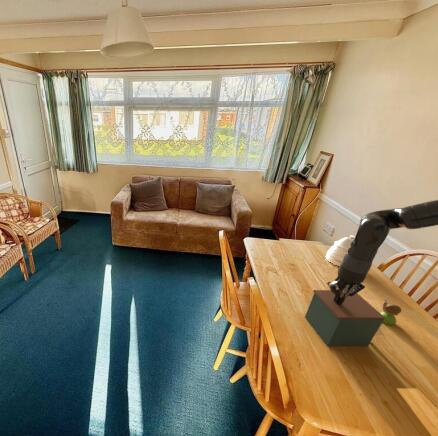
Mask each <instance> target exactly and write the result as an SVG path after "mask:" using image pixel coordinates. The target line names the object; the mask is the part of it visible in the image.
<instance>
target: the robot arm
mask: <svg viewBox="0 0 438 436" xmlns="http://www.w3.org/2000/svg"><path fill="white" fill-rule="evenodd" d="M436 226H438V199H435V200H430V201H424V202H420V203H416V204H412V205H407V206H404V207H398V208H389V209H381V210H376V211H372V212H368V213H366V214H364V215H363V216H362V217H361V218H360V220H359V225H358V228H357V231H356V234H355V235H354V236H355V239H352V242H351V244H350V246H349V249H348V251H347V253H346V254H345V256H344V258H343V260H342V262H341V265H340V267H338V270H337V276H336V278H335V279H334V281H327V283H326V284H327V286H328V288H329V290H331V291H332V292H333V293H334V294H335V297H334V302H335V303H336V304H342V303H343V302H344V300H345V298H347V297H348V296H353V295H355V294H356V293H357V294H358V293H359V292H361V291H363V290H364V289H365V288H366V286H365V285H364V284H363V282H365V280H366V278H367V276H368V274H369V272H370V271H371V268H372V265H373V261H374V260H375V257H376V256H377V254H378V251H379V249H380V247H381V246H382V245H383V243H385V241H386V239H387V238H388V236H389V233H390V232H391V230H394V229H395V230H396V229H402V228H404V229H407V230H418V229H424V228H429V227H436ZM336 288H337V289H336ZM353 290H354V291H353Z"/></svg>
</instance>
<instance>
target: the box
mask: <svg viewBox="0 0 438 436" xmlns="http://www.w3.org/2000/svg"><path fill="white" fill-rule="evenodd" d="M304 318H305V319H306V321H307V322H308V323H309V325H310V326H311V327H312V328H313V330H314V331H315V332H316V334H317V336H319V338H320V339H321V341H323V343H324V344H325V345H326V346H327V347H369V345H371V342H372V340H373V339H374V337H376V334H377V333H378V330H379V329H380V327H381V326H382V324H383V321H384V319H338V318H337V317H336V316H335V315H334V314H333V312H332V311H331V310H330V309H329V308H328V307H327V306H326V305H325V304H324V303H323V302H322V301H321V300H320V299H319V297H318V296H317V295H316V294H315V293H314V292H313V296H312V298H311V301H310V302H309V305H308V308H307V310H306V313H305V315H304Z"/></svg>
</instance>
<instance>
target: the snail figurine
mask: <svg viewBox="0 0 438 436" xmlns="http://www.w3.org/2000/svg"><path fill="white" fill-rule="evenodd" d="M387 301H388V300H387V299H386V298H384V299H383V302H382V306H381V308H382V309H381V310H382V311H381V312H380V313H381V314H382V315H383V316H384V317H385V319H384V321H383V322H382V324H384V325H388V326H394V325H396V323H397V318H396V316H399V314H400V313H401V312H402V308H401V307H400V306H399V305H397V304H389V303H388V302H387Z"/></svg>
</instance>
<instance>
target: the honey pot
mask: <svg viewBox="0 0 438 436" xmlns="http://www.w3.org/2000/svg"><path fill="white" fill-rule="evenodd" d="M355 236H356V235H353V234H350V235H349V237H348V236H347V237H343V238H341V239H339V240H335V241H334V244H333V245H332V246H331V247H330V248H329V249H328V250H327V252H326V254H325V257H326V259H327V260H328V261H329V262H331V263H333V264H335V265H338V266H340V265H341V262H342V260H343V258H344V256H345V254H346V253H347V251H348V249H349V246H350V244H351V242H352V241H353V240H354V239H355ZM326 259H325V260H326ZM327 260H326V261H327ZM328 261H327V262H328ZM329 262H328V263H329ZM331 263H330V264H331ZM333 264H332V265H333ZM335 265H334V266H335ZM338 266H337V267H338Z"/></svg>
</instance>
